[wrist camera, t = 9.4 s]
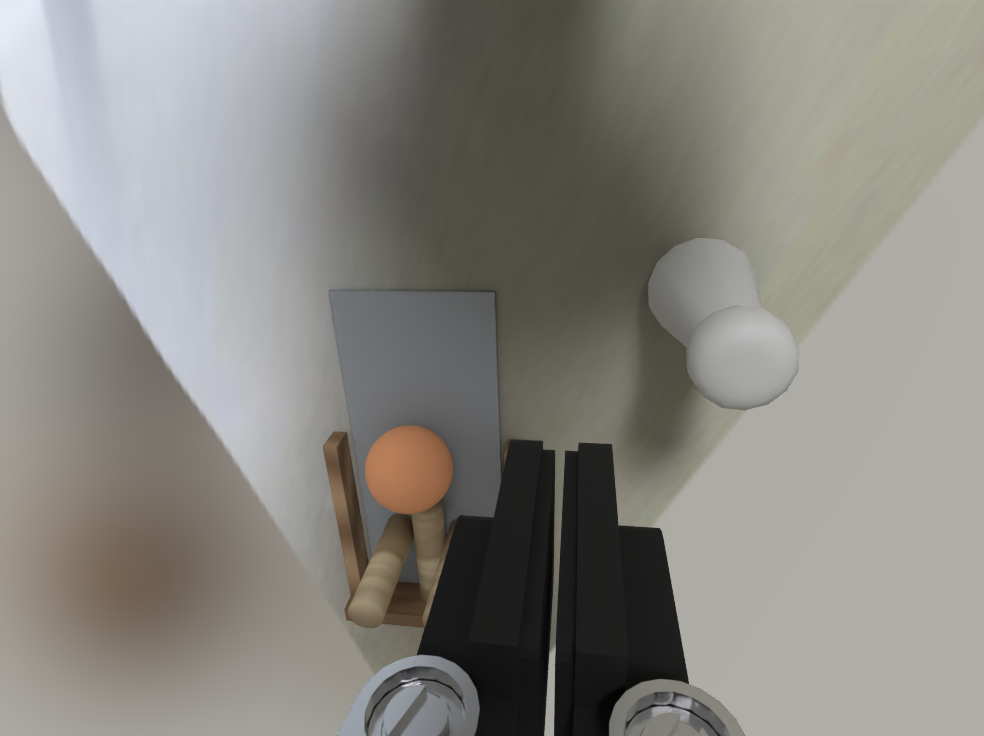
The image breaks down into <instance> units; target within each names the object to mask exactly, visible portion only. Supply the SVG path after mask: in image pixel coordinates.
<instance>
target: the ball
mask: <svg viewBox="0 0 984 736" xmlns="http://www.w3.org/2000/svg"><path fill="white" fill-rule="evenodd" d="M452 476H453V461H452V457H451V454H450V451H449V449H448V447H447V445H446V444H445V442H444V441H443V440H442V439H441V438H440V437H439V436H438V435H437V434H435V433H434V432H432V431H431V430H429V429H427V428H424V427H420V426H413V425H406V426H400V427H396V428H394V429H392V430H389V431H387V432H386V433H384V434H383V435H382V436H381V437H380V438H378V439H377V441H376V442H375V443H374V444H373V446H372V447H371V449H370V451H369V453H368V456H367V459H366V463H365V477H366V482H367V485H368V488H369V490H370V492H371V494H372V495H373V497H374V498H375V499H376V500H377V501H378V502H379V503H380V504H381V505H382V506H384V507H385V508H387V509H389V510H391V511H394V512H397V513H402V514H414V513H419V512H422V511H425V510H427V509H429V508H431V507H432V506H434V505H435V504H437V503H438V502H439V501H440V500H441V499H442V498H443V496H444V495H445V494H446V492H447V490H448V488H449V486H450V484H451V480H452Z"/></svg>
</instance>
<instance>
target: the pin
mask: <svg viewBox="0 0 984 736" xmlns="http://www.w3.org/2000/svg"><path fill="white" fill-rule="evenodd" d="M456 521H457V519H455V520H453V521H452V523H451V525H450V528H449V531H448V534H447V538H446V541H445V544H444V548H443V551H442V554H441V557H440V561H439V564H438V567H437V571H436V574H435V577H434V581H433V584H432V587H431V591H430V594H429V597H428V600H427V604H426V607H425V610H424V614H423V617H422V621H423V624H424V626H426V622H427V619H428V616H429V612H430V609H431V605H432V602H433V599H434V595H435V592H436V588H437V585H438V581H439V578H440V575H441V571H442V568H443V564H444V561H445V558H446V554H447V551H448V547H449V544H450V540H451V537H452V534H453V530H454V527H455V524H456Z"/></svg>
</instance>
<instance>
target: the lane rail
mask: <svg viewBox="0 0 984 736" xmlns="http://www.w3.org/2000/svg"><path fill="white" fill-rule="evenodd" d="M509 442H510V440H507V442H506V447H505V452H504V465H505V460H506V456H507V451H508V446H509ZM323 450H324V455H325V460H326V466H327V471H328V476H329V481H330V487H331V492H332V497H333V502H334V508H335V513H336V518H337V523H338V529H339V534H340V539H341V544H342V550H343V555H344V560H345V565H346V571H347V576H348V581H349V586H350V592H351V596H350V598H349V601H348V603H347V605H346V607H345V609H344V610H345V615H346V620H349V621H352V620H351V619H350V617H349V615H348V608H349V606H350V604H351V602H352V599H353V597H354V595H355V593H356V590H357V588H358V586H359V584H360V582H361V579H362V577H363V575H364V573H365V570H366V568H367V566H368V558H367V552H366V546H365V540H364V534H363V528H362V522H361V516H360V510H359V504H358V498H357V493H356V487H355V481H354V475H353V469H352V463H351V457H350V451H349V445H348V439H347V433H346V432H333V433H332V435H331V436H330V437H329V439H328V440H327V442H326V443H325V444H324V446H323ZM426 604H427V602H425V601H424V600H423V599H422V598H421V594H420V585H419V583H409V582H397V584H396V587H395V590H394V592H393V595H392V598H391V600H390V603H389V606H388V608H387V611H386V614H385V616H384V619H383V622H382V623H381V624H392V625H403V626H413V627H424V628H425V626H424V624H423V621H422V617H423V614H424V610H425V607H426Z"/></svg>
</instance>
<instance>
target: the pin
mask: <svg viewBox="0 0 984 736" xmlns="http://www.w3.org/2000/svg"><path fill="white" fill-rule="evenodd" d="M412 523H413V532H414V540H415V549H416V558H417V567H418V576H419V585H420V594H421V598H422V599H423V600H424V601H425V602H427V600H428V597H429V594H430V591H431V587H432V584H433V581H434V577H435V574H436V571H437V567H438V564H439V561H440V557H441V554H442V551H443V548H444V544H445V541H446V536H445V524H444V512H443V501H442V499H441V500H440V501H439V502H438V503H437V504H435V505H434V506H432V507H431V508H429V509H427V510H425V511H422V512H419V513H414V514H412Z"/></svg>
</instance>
